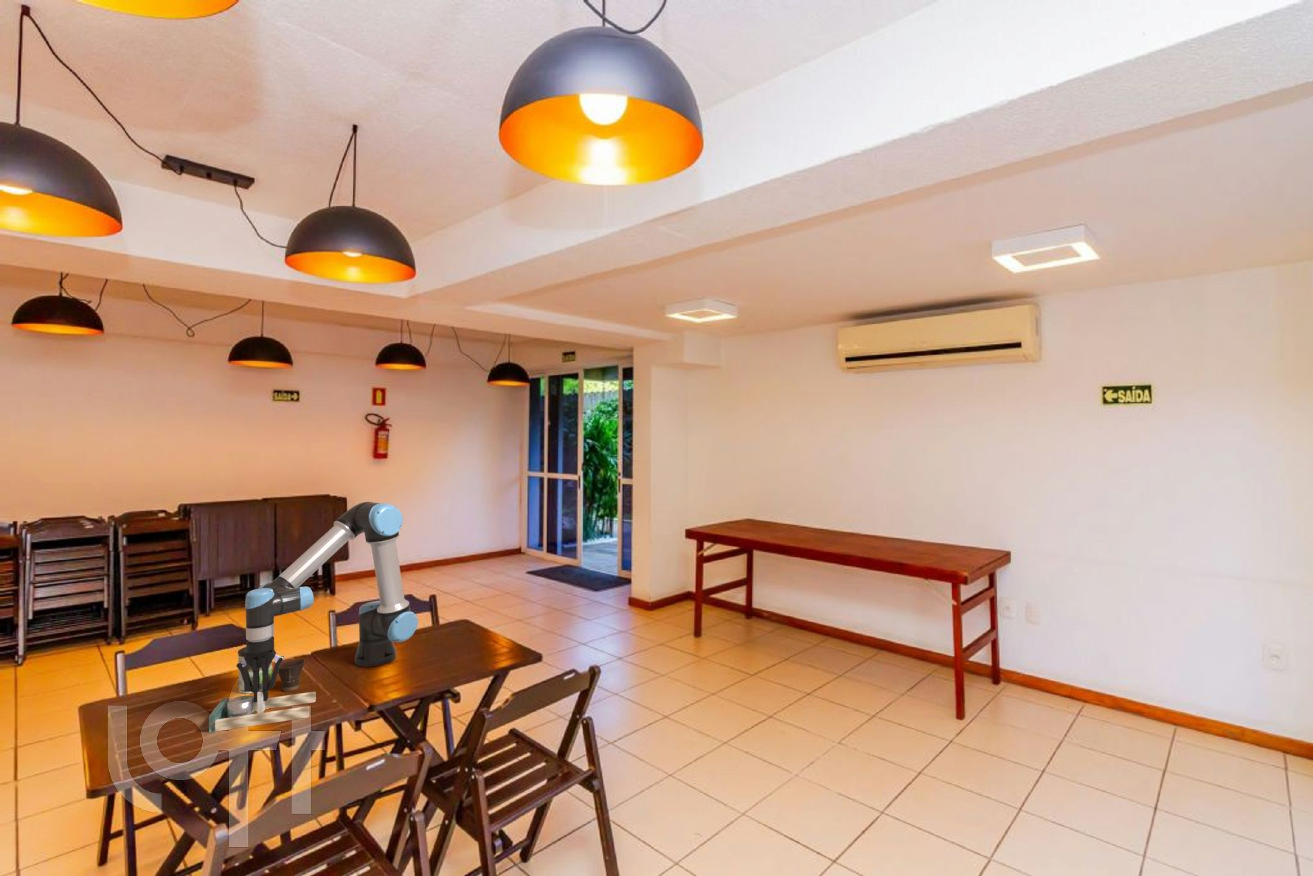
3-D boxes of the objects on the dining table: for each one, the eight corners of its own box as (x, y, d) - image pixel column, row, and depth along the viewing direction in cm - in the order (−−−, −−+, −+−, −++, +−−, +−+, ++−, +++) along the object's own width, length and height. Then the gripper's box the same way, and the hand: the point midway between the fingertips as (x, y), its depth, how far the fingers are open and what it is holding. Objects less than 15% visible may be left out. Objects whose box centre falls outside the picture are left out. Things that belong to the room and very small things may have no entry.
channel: (315, 700, 204) (315, 685, 204) (308, 717, 191) (308, 701, 191) (223, 713, 194) (222, 698, 194) (209, 732, 182) (209, 716, 182)
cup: (265, 691, 209) (269, 662, 210) (289, 685, 217) (293, 656, 218) (283, 696, 206) (288, 666, 207) (306, 689, 214) (310, 660, 215)
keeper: (257, 712, 195) (256, 694, 195) (250, 722, 188) (249, 703, 188) (232, 715, 193) (231, 697, 193) (224, 726, 186) (223, 706, 186)
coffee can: (279, 682, 218) (279, 644, 218) (255, 695, 208) (255, 654, 208) (256, 680, 220) (255, 642, 220) (230, 692, 210) (230, 652, 210)
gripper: (286, 632, 198) (287, 702, 198) (239, 637, 193) (241, 709, 194) (280, 639, 191) (282, 712, 191) (232, 644, 186) (233, 720, 187)
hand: (261, 711), depth 192 cm, fingers closed
